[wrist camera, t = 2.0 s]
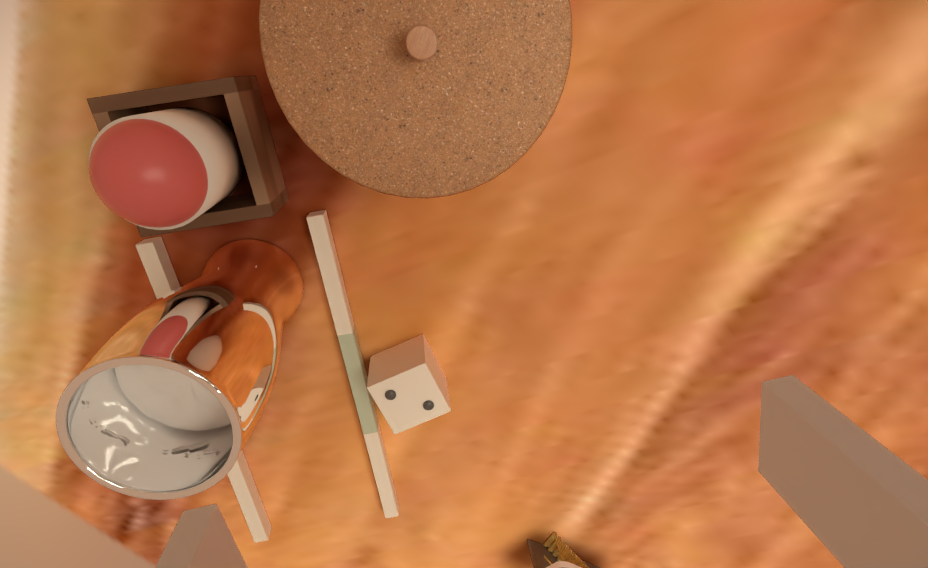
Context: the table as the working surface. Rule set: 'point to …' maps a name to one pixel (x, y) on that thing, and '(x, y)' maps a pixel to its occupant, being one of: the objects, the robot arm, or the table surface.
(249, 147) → the button housing
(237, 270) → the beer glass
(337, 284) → the track
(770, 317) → the table surface
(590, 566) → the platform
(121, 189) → the dome button
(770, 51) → the table surface
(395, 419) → the die
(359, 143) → the lidded bowl
